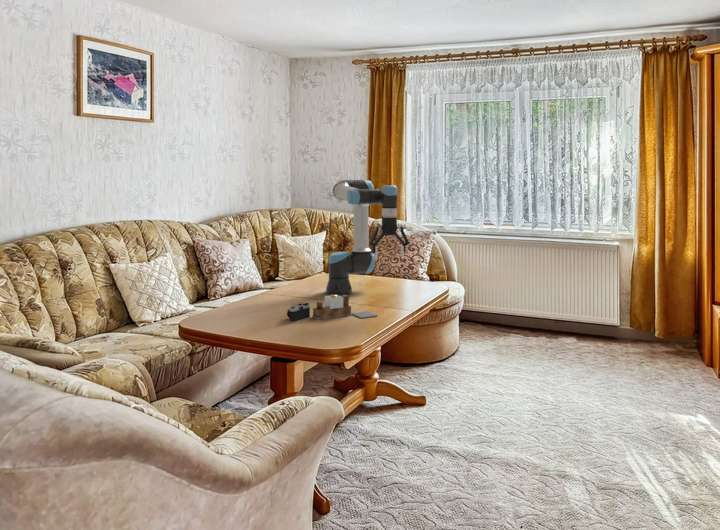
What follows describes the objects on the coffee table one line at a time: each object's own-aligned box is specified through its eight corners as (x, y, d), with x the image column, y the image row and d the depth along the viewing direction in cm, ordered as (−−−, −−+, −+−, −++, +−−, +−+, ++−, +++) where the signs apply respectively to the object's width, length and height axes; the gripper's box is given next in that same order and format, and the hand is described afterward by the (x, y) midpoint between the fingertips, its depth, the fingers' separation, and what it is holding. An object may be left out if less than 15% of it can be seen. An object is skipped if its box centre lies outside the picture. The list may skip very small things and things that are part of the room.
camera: (299, 315, 281) (298, 297, 279) (312, 317, 277) (310, 299, 275) (282, 323, 271) (280, 304, 269) (294, 325, 266) (293, 306, 264)
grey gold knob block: (324, 306, 280) (324, 294, 279) (337, 304, 283) (337, 293, 282) (330, 308, 274) (329, 297, 273) (343, 307, 277) (343, 295, 277)
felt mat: (351, 314, 283) (351, 313, 283) (367, 312, 287) (367, 311, 287) (360, 318, 274) (360, 317, 274) (377, 316, 278) (377, 315, 278)
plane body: (316, 319, 272) (316, 299, 271) (312, 316, 277) (311, 297, 276) (351, 315, 281) (351, 296, 279) (346, 312, 286) (346, 294, 284)
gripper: (366, 217, 281) (366, 260, 284) (415, 216, 285) (415, 259, 288) (363, 216, 288) (363, 258, 291) (411, 215, 292) (411, 257, 296)
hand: (389, 259), depth 290 cm, fingers open, 13 cm apart
